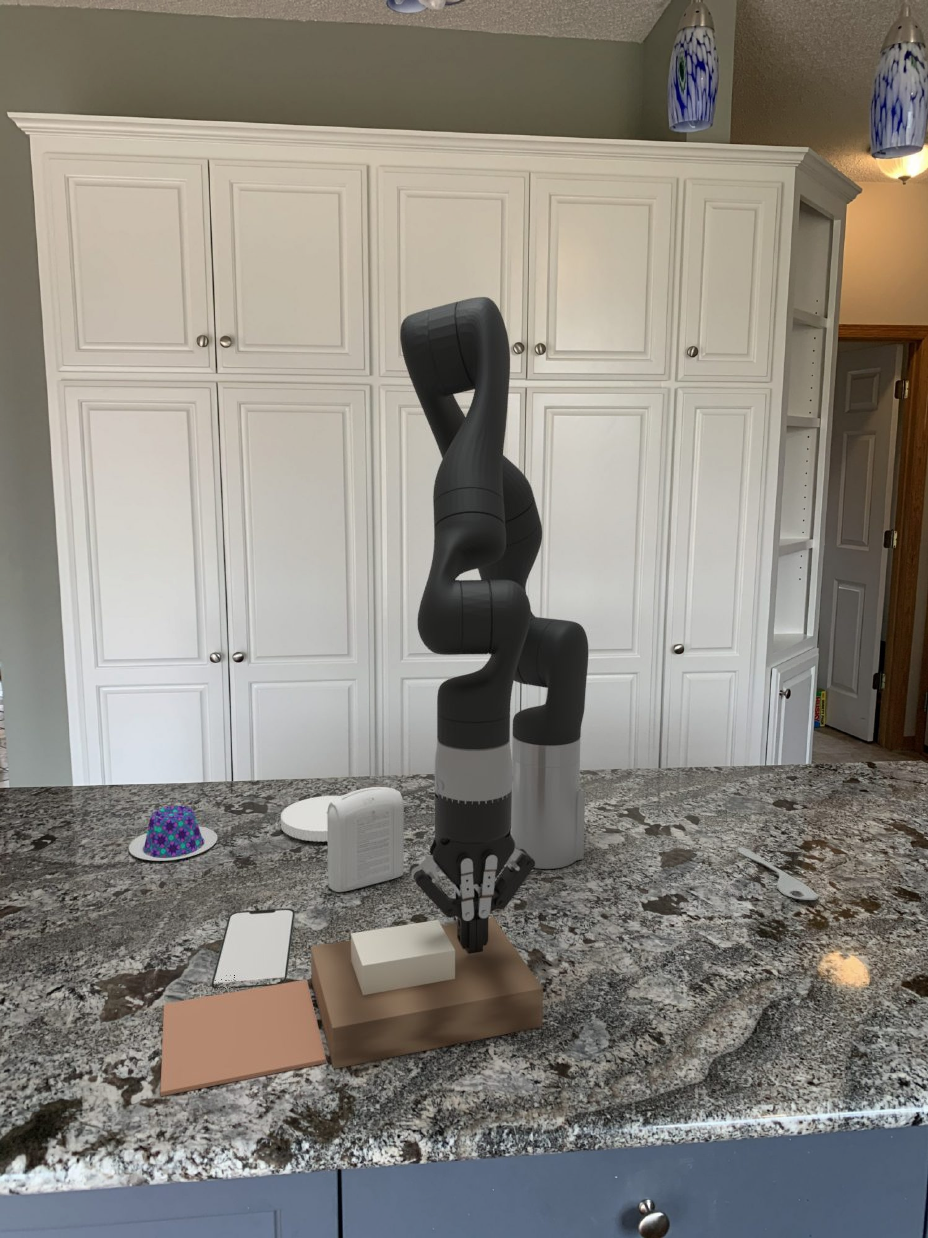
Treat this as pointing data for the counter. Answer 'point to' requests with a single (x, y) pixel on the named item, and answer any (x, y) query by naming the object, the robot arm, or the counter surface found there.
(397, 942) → the cream brick
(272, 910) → the smartphone
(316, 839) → the plastic lid
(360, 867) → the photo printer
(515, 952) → the deck
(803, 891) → the spoon
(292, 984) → the mat
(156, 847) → the purple patterned hat
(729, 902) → the counter surface
